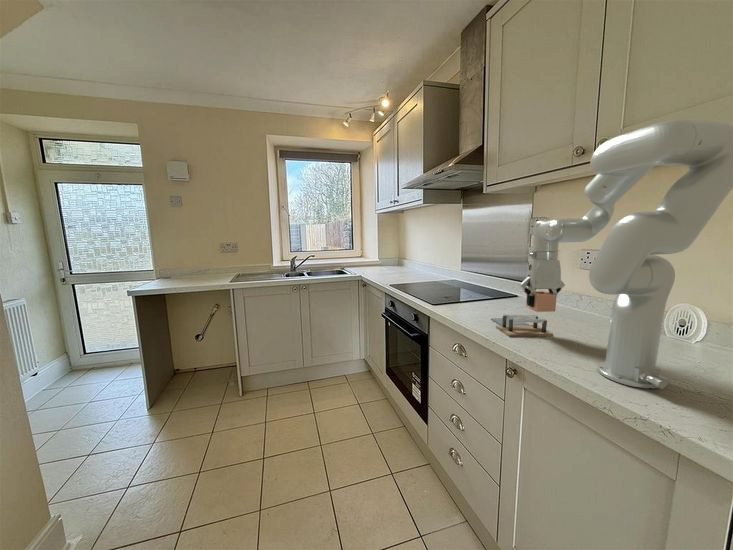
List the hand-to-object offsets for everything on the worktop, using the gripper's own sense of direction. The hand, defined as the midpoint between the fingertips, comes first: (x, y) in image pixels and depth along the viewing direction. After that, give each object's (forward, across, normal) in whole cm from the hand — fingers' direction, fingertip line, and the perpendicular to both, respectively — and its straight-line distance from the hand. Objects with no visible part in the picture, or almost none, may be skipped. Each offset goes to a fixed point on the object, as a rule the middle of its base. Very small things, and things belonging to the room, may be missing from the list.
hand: (540, 305), depth 104 cm
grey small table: (+11, -4, +3) cm, 12 cm away
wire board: (+11, -4, +3) cm, 12 cm away
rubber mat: (+11, -3, +14) cm, 18 cm away
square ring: (+1, 0, 0) cm, 1 cm away
